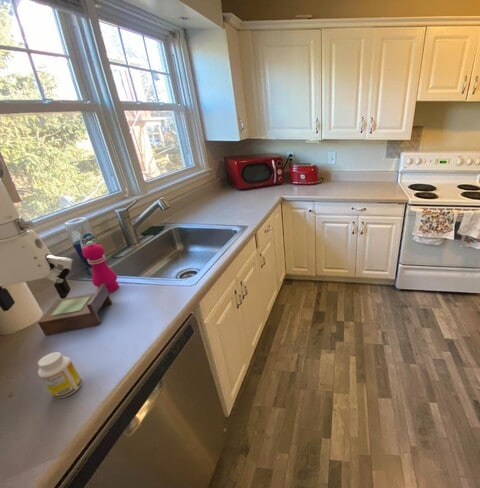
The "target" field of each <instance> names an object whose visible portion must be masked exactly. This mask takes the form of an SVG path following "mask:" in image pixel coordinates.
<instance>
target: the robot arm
mask: <svg viewBox="0 0 480 488" xmlns="http://www.w3.org/2000/svg"><path fill="white" fill-rule="evenodd" d="M17 209H18V208H17V207H16V205H15V204H14V202H13V200H12V198H11V196H10V194H9V192H8V190H7V188H6V186H5V184H4V182H3V180H2V178H1V177H0V308H1V310H2V311H3V312H8V311H9V310H10V309H11V308H12V307H13V306H14V305H15V304H16V301H15V300H14V298H13V296H12V295H11V293H10V292H9V290H8V289H7V288H6V287H5V286H12V285H17V284H22V283H27V282H33V281H38V280H41V279H47V280H50V281H52V282H55V283H54V284H53V286H54V288H55V290H56V293H57V294H58V296H59V297H60V298H59V299H64V298H68V295H69V294H70V292H71V287H70V285H69V282H68V281H67V279H66V278H67V277H68V275H69V274H70V272H71V271H72V268H73V264H74V259H72V258H68V257H62V256H57V255H56V256H55V255H53V254H52V253H51V251H50V250H49V248H48V247H47V245H46V244H45V242H44V241H43V239H42V238H41V237H40V236H39V235H38V233H37V232H36V231H34V230H33V229H29V228H34V223H33V221H32V220H24V218H23V216H21V215H20V212H19V211H18V210H17ZM58 265H61V266H62V267H63V268H62V270H60V269H57V267H58Z"/></svg>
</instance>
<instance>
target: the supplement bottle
mask: <svg viewBox="0 0 480 488" xmlns="http://www.w3.org/2000/svg"><path fill="white" fill-rule="evenodd" d="M37 365H38V367H39V369H38V371H37V375H38V377H39V378H40V380H41V381H42V383H43V384H44V386H45V387H46V388H47V390H48V392H49V394H50V395H51V396H52V397H53V398H54V399H64V398H67V397H68V396H70V395H72V394H74V393H75V392H76V391H78V390H79V388H80V387H81V385H82V383H83V379H82V378H81V376H80V374H79V373H78V371H77V369H76V367H75V366H74V364H73V362H72V361H71V359H70V357H68V356H64V355H63V354H62V353H61V352H60V351H59V352H58V351H55V352H54V351H53V352H51V353H49V354H46V355H45V356H43V357H41V358H40V359H39V360H38V362H37Z"/></svg>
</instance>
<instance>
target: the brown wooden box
mask: <svg viewBox="0 0 480 488" xmlns="http://www.w3.org/2000/svg"><path fill="white" fill-rule="evenodd" d="M97 288H98V287H97ZM112 304H113V301H112V298H111V296H110V293H108V291H107V288H106V286H105V284H101V285H100V287H99V288H98V289H96V291H95V292H92V293H86V294H80V295H74V296H69V297H68V296H67V297H66V298H64V299H62V298H58V299H57V300H56V301H55V302H54V303H53V304H52V306H51V307H49V309H48V310H47V311H46V312H45V314H44V315H43V316H42V317H41V318H40V319H39V321H38V322H37V324H38V325H39V327H40V329H41V331H42V332H43V334H44V336H50V335H55V334H61V333H66V332H70V331H76V330H80V329H86V328H90V327H96V326H100V325H101V324H102V321H101V319H100V316H99V314H98V312H99V310H100V309H101V307H105V306H110V305H112Z"/></svg>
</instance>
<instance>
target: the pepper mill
mask: <svg viewBox="0 0 480 488" xmlns="http://www.w3.org/2000/svg"><path fill="white" fill-rule="evenodd" d="M81 253H82V256H83V257H84V258H85V259H86V261H87V262H88V264H89V265H90V266H91V268H92V277H91V281H92V284H93V285H94V286H95V287H97V288H96V290H98V288H99V287H100V285H101V284H105V286H106V288H107V291H108V293H109V294H110V293H113V292H115V291H117V289H119V287H120V285H119V282H118V281H117V280H118V276H117V273H116V272H115V271H114V270H113V269H111V268H110V267H109V266H108V264H107V262H106V256H105V255H104V254H105V248H104V247H103V246H102V245H101V244H97V243H94V242H93V241H92V240H89V241H87V242H86V246H85V247H84V248H83V249H82V252H81Z"/></svg>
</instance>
